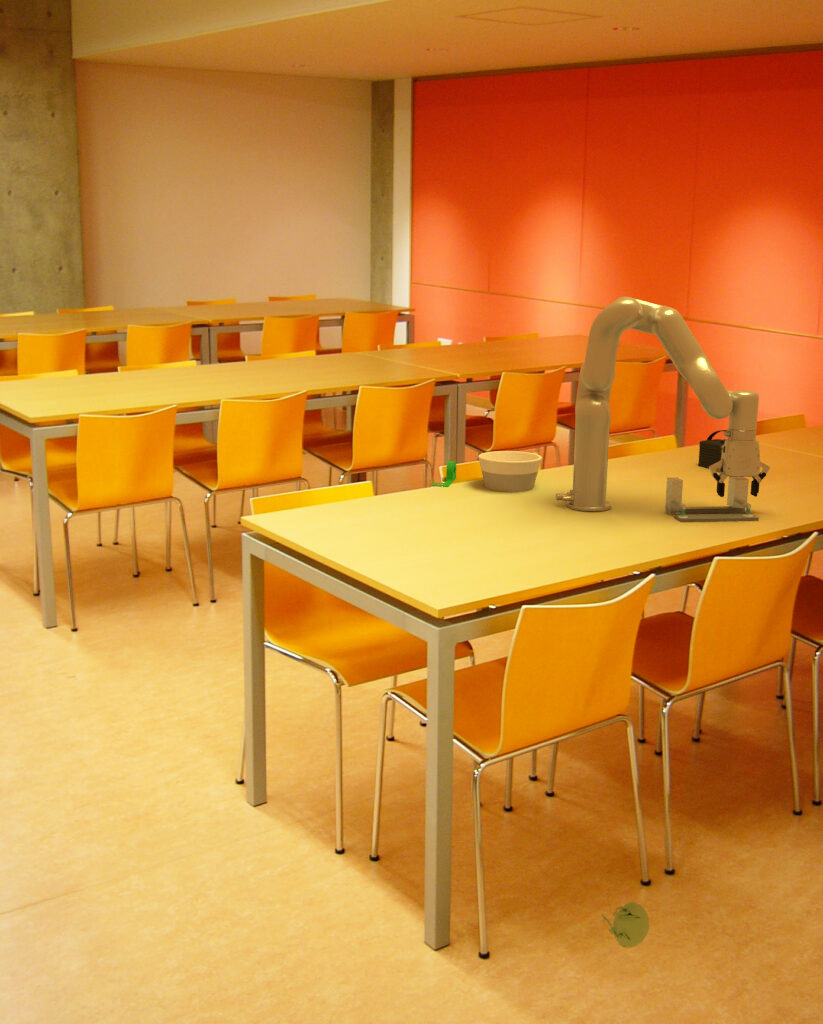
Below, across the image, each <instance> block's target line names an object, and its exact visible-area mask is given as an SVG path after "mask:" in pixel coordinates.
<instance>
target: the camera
mask: <svg viewBox="0 0 823 1024" xmlns="http://www.w3.org/2000/svg"><path fill="white" fill-rule="evenodd" d="M727 430H728V429H724V430H723V429H721V430H716V431H713V432H712V433H710V435H709V436H708V437H707V438H706V440H700V441H699V450H698V453H699V454H698V464H697V466H698V467H701V468H705V469H707V470H709V466H711V465H713V464H715V463H717V462H719V461H721V456H722V450H723V446H724V443H725V440H726V439H725V438H724V439H721V438H714V437H715V435H717V434H718V433H721V432H724V431H727ZM716 473H717V474H720V473H721V472H720V467H719V468H717V469H716Z"/></svg>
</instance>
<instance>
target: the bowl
mask: <svg viewBox="0 0 823 1024" xmlns="http://www.w3.org/2000/svg"><path fill="white" fill-rule="evenodd" d="M542 459H543V457H542V455H539V454H537V453H533V452H528V451H527V452H526V451H518V450H517V451H516V450H497V451H496V450H495V451H487V452H482V453H480V454H479V455H478V462H479V466H480V470H481V475H482V480H483V484H484V487H486V489H488V490H493V491H496V492H505V493H519V492H521V493H523V492H527V491H530V490H533V489H534V487H535V483H536V480H537V476H538V473H539V469H540V466H541V463H542Z"/></svg>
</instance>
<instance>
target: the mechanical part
mask: <svg viewBox="0 0 823 1024" xmlns="http://www.w3.org/2000/svg"><path fill="white" fill-rule="evenodd" d="M445 470H446V471H445V472H446V473H445V475H446V478H445V482H431V483H430V485H431V486H434V487H440V488H449V487H450V486H451V485H452V484H453V482H455V481H456V479H457V462H456V461H452V460H451V461H450V460H448V461H447V463H446V469H445ZM442 486H443V487H442Z"/></svg>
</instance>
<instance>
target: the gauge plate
mask: <svg viewBox="0 0 823 1024" xmlns="http://www.w3.org/2000/svg"><path fill="white" fill-rule="evenodd" d="M673 516H674V519H675V520H676V521H679V522H680V523H691V522H692V523H693V522H694V523H696V522H699V523H701V522H702V523H703V522H704V523H705V522H750V521H752V522H758V521H759V520H760V519H759V518H760V517H758V516H757V515H754V514H752V513H750V514H746V513H726V514H685V515H673Z"/></svg>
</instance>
